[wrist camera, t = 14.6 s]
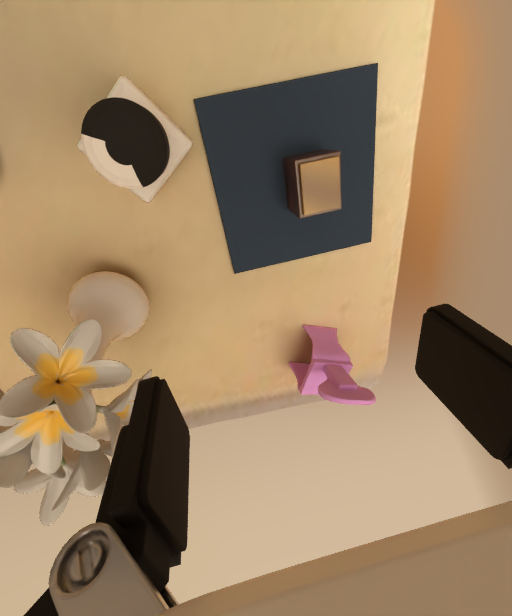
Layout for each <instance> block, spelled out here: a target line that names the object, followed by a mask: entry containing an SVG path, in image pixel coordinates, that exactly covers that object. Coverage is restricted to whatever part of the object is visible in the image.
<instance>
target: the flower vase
mask: <svg viewBox="0 0 512 616" xmlns="http://www.w3.org/2000/svg"><path fill="white" fill-rule="evenodd" d="M67 305H68V313H69V315H70V317H71V319H72V321H73V323H74V324H75V325H76V326H77V327H76V328H75V329H74V330H73V331H72V332H71V333H70V335H69V337H68V338H67V340H66V342H65V343H64V345H63V347H62V349H61V351H60V353H59V349H58V346H57V345H56V343H55V342H54V341H53V340H52V339H50V338H49V337H48V336H46V335H45V334H43V333H41V332H39V331H36V330H33V329H28V328H20V329H17V330H16V331H14V332H13V333H12V334H11V337H10V343H11V346H12V348H13V350H14V352H15V353H16V355H17V356H18V357H19V358H20V360H21V361H22V362H23V363H24V364H25V365H26V366H28V367H29V368H30V369H31V370H32V371H33V372H34V373H35V374H36V375H33V376H30V377H28V378H25V379H23V380H22V381H20V382H18V383H17V384H16V385H14V386H13V387H12V388H10V389H9V390H8V391H7V392H6V393H4V392H3V391H2V390H1V389H0V487H4V488H9V487H12V486H14V490H15V491H16V492H18V493H22V494H28V493H34V492H37V491H39V490H41V489H43V488H44V487H45V486H46V485H47V486H46V490H45V493H44V496H43V499H42V502H41V507H40V521H41V523H42V524H43V525H46V526H49V525H50V524H53V523H54V522H55V521H56V520H57V519H58V518H59V517H60V515H61V514H62V512H63V510H64V509H65V507H66V505H67V503H68V500H69V496H70V495H71V494H72V493H73V492H74V490H75V491H77V492H78V493H80V494H82V495H85V496H90V497H93V496H94V497H95V496H99V495H102V494H103V492H104V489H105V485H106V478H107V476H108V474H109V470H110V462H109V459H108V458H107V457H106V455H105V454H107V455H109V456H113V455H114V451H115V447H116V443H117V440H118V436H119V433H120V430H121V428H122V427H123V426H122V425H124V426H125V425H129V421H130V416H131V412H132V408H133V404H134V401H130V400H133V399H135V396H136V391H137V387H138V383H139V381H140V380H144V379H148V378H150V377H151V374H152V369H151V370H149V371H148V372H147V373H146V374H145V375H144V376H143V377H142V378H141V379H139V380H138V379H137V380H136V381H135V382H134V383H133V384H132V385H131V386H130V387H129V388H128V389H127V390H126V391H125V392H124V393H122V394H121V395H119V396H118V397H117V398H115V399H114V400H113V401H112V402H111V403H110V404H109V405H107V406H99V405H96V403H95V400H94V398H93V395H92V389H105V388H111V387H116V386H119V385H121V384H124V383H125V382H127V381H128V380H129V379H130V377H131V369H130V368H129V367H128V366H127V365H125V364H124V363H121V362H119V361H115V360H102V358H103V356H104V354H105V352H106V350H107V348H108V346H109V345H110V343H111V342H112V341H117V340H123V339H125V338H128V337H130V336H132V335H134V334H135V333H136V332H138V331H139V330H140V329H141V328H142V326H143V325H144V324H145V323H146V321H147V318H148V315H149V301H148V298H147V295H146V294H145V292H144V290H143V289H142V287H140V286H139V285H138V284H137V283H136V282H135V281H134V280H132V279H130V278H129V277H127V276H125V275H122V274H119V273H116V272H108V271H102V272H94V273H91V274H89V275H86V276H84V277H82V278H81V279H80V280H79V281H77V282H76V283H75V284H74V286H73V287H72V289H71V290H70V293H69V297H68V302H67ZM97 412H99V413H103V414H104V416H105V421H106V425H107V427H108V430H109V433H110V438H111V441H105V440H102V439H101V440H100V439H99V440H96V439H95V438H94V437H92V436H90V435H89V434H87V432H89V431H91V430H92V429H93V428H94V425H95V423H96V420H97ZM14 424H15V425H14ZM11 425H13V426H11ZM73 449H76V450H74V451H73ZM104 453H105V454H104ZM32 462H33V464H34V466H35V467H36V469H34V470H31V471H30V472H28V470H29V468H30V466H31V464H32Z"/></svg>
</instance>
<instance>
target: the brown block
mask: <svg viewBox="0 0 512 616" xmlns="http://www.w3.org/2000/svg"><path fill="white" fill-rule="evenodd" d="M283 167H284V176H285V185H286V194H287V203H288V210H290V211H291V212H292V213H294V214H295V215H296V216H297V217H299V218H300V219H301V218H305V217H310V216H314V215H318V214H323V213H327V212H332V211H336V210H340V209H342V199H341V151H337V150H326V149H321V150H317V151H312V152H307V153H303V154H298V155H293V156H289V157H284V158H283Z"/></svg>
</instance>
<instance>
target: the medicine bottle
mask: <svg viewBox="0 0 512 616" xmlns="http://www.w3.org/2000/svg"><path fill="white" fill-rule="evenodd" d="M192 145H193V141H192V140H191V139H190V138H189V137H188V136H187V135H186V134H185V133H184V132H183V131H182V130H181V129H180V128H179V127H178V126H177V125H176V124H175V123H174V122H173V121H172V120H171V119H170V118H169V117H168V116H167V115H166V114H165V113H164V112H163V111H162V110H161V109H160V108H159V107H158V106H157V105H156V104H155V103H154V102H153V101H152V100H151V99H150V98H149V97H148V96H146V95H145V94H144V93H143V92H142V91H141V90H140V89H139V88H138V87H137V86H136V85H135V84H134V83H132V82H131V81H130V80H129V79H128V78H127V77H125V76H120V77H119V78H118V80H117V82H116V83H115V85H114V86H113V88H112V89H111V91H110V93H109V94H108V96H107V97H106V99H103V100H101V101H99V102H97V103H96V104H94V105H93V106H92V107H91V108H90V109H89V110H88V112H87V114H86V115H85V118H84V120H83V124H82V130H81V139H80V140H79V142H78V143H77V147H78V149H79V150H80V151H81V152H83V153H84V154H85V155H86V156H87V158H88V160H89V162H90V163H91V165H92V166H93V167H94V169H95V170H96V171H97V172H98V173H99V174H100V175H101V176H102V177H103V178H105V179H106V180H107V181H109V182H110V183H112V184H114V185H117V186H119V187H123V188H127V189H129V190H131V191H132V192H133V193H134V194H136V195H137V196H138V197H139V198H141V199H142V200H143V201H144V202H146V203H149V202H150V201H151V200H152V199H153V197H154V196H155V195H156V193H157V192H158V191H159V189H160V188H161V187H162V185H163V184H164V183H165V181H166V180H167V179H168V177H169V176H170V175H171V173H172V172H173V171H174V170H175V168H176V167H177V166H178V164H179V163H180V162H181V160H182V159H183V158H184V156H185V155H186V154H187V152H188V151H189V150H190V148H191V147H192Z"/></svg>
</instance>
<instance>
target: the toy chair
mask: <svg viewBox="0 0 512 616" xmlns="http://www.w3.org/2000/svg"><path fill="white" fill-rule="evenodd" d="M302 327H303V328H304V329H305V331H306V332H307V333H308V335H309V336H310V338H311V340H312V344H313V348H312V359H311V363H310V364H306V363H293V362H289V363H288V364H289V366H290V367H291V369H292V370H293V372H294V374H295V376H296V378H297V381H298V390H300V393H301V394H308V395H310V394H317V395H320V396H321V397H322V398H324V399H326V400H329V401H333V402H337V403H343V404H355V405H370V404H374V403H375V402H376V399H375V395H374V394H373V393H372V392H371V391H370V390H369V389H366V388H363V387H360V386H358V385H357V384H356V383H355V382H354V380H353V379H352V378H351V377H350V376H349V372H350V370H351V368H352V366H353V365H352V363H351V362H350V357H349V355H348V354H347V353H346V352H345V351H344V350H343V348H342V347H341V346H340V344H339V343H338V340H337V329H336V328H328V327H319V326H311V325H303V326H302Z"/></svg>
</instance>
